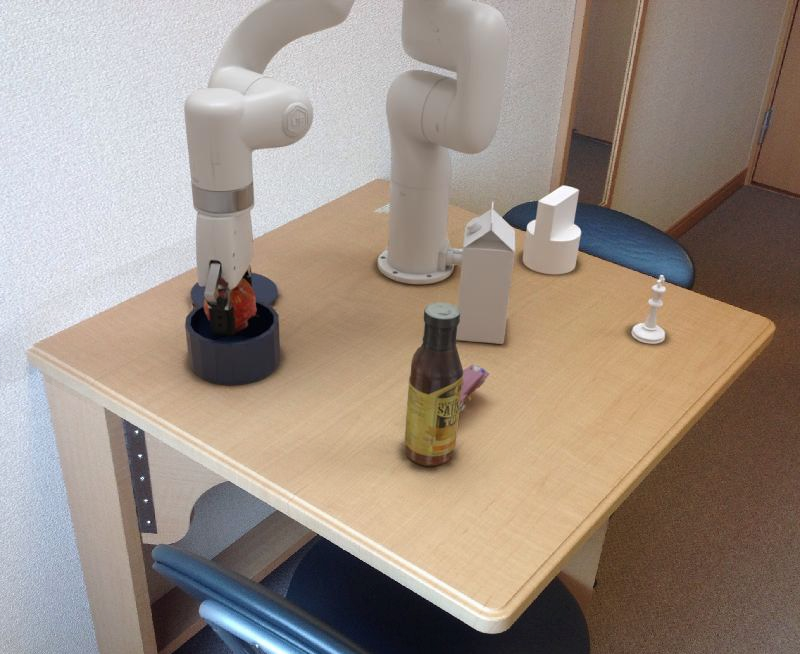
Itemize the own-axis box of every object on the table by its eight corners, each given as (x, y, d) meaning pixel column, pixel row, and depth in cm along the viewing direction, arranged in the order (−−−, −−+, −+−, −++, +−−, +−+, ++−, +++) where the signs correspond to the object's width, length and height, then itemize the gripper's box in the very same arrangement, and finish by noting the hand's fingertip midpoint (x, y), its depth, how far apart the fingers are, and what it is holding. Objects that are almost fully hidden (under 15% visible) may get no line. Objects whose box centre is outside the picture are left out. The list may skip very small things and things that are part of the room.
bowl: (279, 335, 134) (278, 295, 130) (281, 384, 123) (279, 343, 120) (192, 337, 132) (188, 297, 128) (186, 387, 122) (182, 345, 118)
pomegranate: (234, 321, 130) (178, 299, 122) (263, 280, 128) (208, 255, 121) (256, 351, 125) (199, 330, 118) (286, 309, 123) (230, 285, 116)
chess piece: (670, 335, 138) (685, 276, 132) (654, 347, 135) (668, 287, 129) (642, 323, 141) (655, 264, 135) (625, 334, 138) (637, 275, 132)
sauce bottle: (440, 475, 109) (452, 332, 98) (394, 457, 112) (401, 316, 100) (464, 446, 114) (479, 307, 103) (420, 429, 117) (429, 291, 105)
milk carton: (503, 320, 140) (518, 203, 128) (503, 345, 134) (518, 224, 123) (457, 316, 140) (467, 199, 129) (454, 341, 134) (465, 220, 123)
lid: (277, 276, 148) (275, 236, 144) (278, 318, 137) (276, 276, 133) (193, 278, 146) (189, 237, 142) (188, 320, 136) (183, 277, 132)
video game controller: (439, 436, 118) (464, 405, 113) (412, 413, 118) (437, 381, 114) (475, 400, 125) (501, 369, 120) (450, 377, 125) (474, 346, 120)
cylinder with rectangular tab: (538, 245, 161) (547, 180, 154) (584, 260, 157) (596, 194, 150) (512, 263, 155) (521, 196, 148) (560, 279, 151) (571, 211, 144)
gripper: (215, 165, 121) (224, 284, 131) (169, 220, 107) (184, 348, 117) (270, 170, 120) (276, 289, 131) (232, 226, 106) (241, 355, 116)
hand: (232, 316), depth 124 cm, fingers closed on pomegranate, 7 cm apart
